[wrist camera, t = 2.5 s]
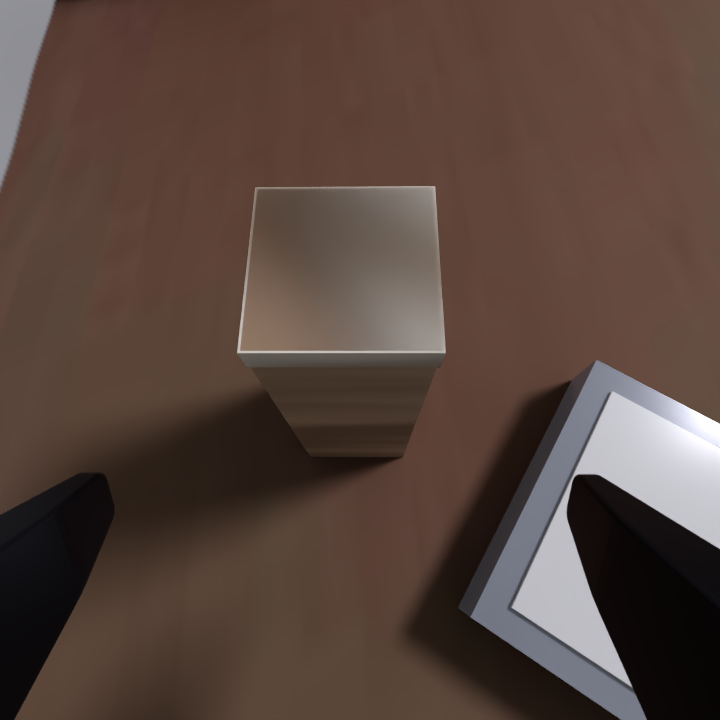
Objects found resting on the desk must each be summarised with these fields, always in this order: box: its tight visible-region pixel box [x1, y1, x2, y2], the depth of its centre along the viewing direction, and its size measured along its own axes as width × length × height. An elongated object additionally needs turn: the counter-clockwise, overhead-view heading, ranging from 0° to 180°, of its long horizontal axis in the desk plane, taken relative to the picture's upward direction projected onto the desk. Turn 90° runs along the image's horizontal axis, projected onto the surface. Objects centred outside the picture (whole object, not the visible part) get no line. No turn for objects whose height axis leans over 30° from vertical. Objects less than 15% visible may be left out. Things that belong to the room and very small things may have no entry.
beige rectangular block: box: [237, 186, 446, 457], centre depth 16 cm, size 4×4×12 cm
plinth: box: [458, 360, 720, 720], centre depth 18 cm, size 11×11×3 cm
